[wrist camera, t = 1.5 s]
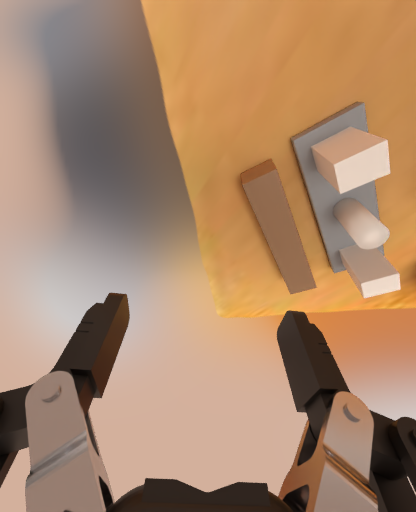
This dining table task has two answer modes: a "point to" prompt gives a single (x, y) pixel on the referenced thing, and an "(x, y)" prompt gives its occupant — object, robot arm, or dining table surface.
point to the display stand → (348, 196)
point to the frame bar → (278, 225)
